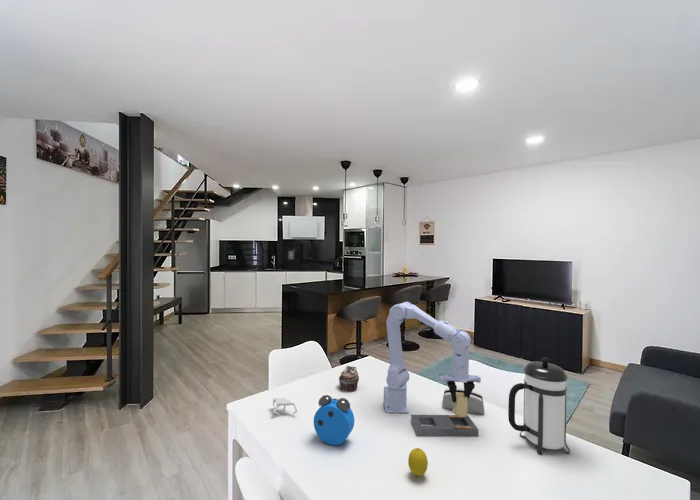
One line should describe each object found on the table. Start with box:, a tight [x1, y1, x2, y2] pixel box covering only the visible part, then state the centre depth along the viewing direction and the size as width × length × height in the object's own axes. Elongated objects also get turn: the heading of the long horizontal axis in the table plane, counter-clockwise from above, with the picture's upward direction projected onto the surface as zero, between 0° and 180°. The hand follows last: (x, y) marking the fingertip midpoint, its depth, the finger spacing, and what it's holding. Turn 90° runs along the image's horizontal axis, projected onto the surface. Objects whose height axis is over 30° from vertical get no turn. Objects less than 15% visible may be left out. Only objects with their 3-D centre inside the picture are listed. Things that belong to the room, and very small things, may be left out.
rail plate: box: [410, 414, 479, 437], centre depth 119 cm, size 22×10×3 cm, turn 91°
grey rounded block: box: [441, 387, 485, 415], centre depth 134 cm, size 17×5×10 cm, turn 71°
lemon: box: [407, 447, 429, 477], centre depth 94 cm, size 6×6×8 cm
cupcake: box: [338, 365, 360, 393], centre depth 152 cm, size 10×10×10 cm
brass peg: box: [452, 392, 468, 417], centre depth 119 cm, size 4×4×7 cm
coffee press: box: [507, 356, 571, 456], centre depth 110 cm, size 17×16×30 cm
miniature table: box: [272, 397, 298, 418], centre depth 127 cm, size 12×8×5 cm
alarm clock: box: [313, 394, 355, 446], centre depth 110 cm, size 13×6×15 cm, turn 70°
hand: (459, 401), depth 119 cm, fingers closed on brass peg, 4 cm apart
